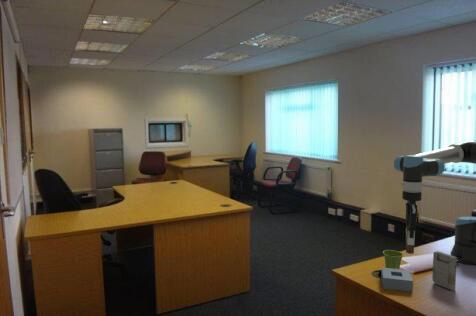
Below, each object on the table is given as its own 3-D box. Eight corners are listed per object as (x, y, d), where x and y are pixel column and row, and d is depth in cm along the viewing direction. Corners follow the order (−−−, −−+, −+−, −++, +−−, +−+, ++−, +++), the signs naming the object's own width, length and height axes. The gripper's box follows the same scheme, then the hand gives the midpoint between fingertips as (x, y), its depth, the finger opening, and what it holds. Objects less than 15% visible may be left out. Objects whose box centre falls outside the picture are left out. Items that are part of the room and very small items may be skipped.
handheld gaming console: (456, 289, 161) (457, 256, 159) (451, 291, 159) (452, 258, 158) (436, 281, 169) (437, 250, 167) (431, 283, 167) (432, 251, 166)
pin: (413, 251, 162) (414, 225, 161) (414, 254, 159) (415, 227, 158) (405, 251, 163) (406, 224, 162) (406, 253, 160) (407, 226, 159)
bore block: (408, 280, 170) (409, 270, 170) (412, 291, 159) (413, 280, 159) (381, 277, 174) (381, 267, 174) (383, 288, 163) (383, 277, 162)
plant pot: (393, 265, 189) (393, 249, 188) (407, 272, 180) (407, 255, 179) (378, 267, 186) (378, 251, 185) (391, 275, 177) (392, 257, 176)
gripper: (399, 187, 167) (398, 237, 169) (405, 194, 152) (403, 248, 154) (417, 187, 165) (415, 238, 167) (425, 194, 150) (423, 250, 152)
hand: (410, 243), depth 161 cm, fingers closed on pin, 3 cm apart
